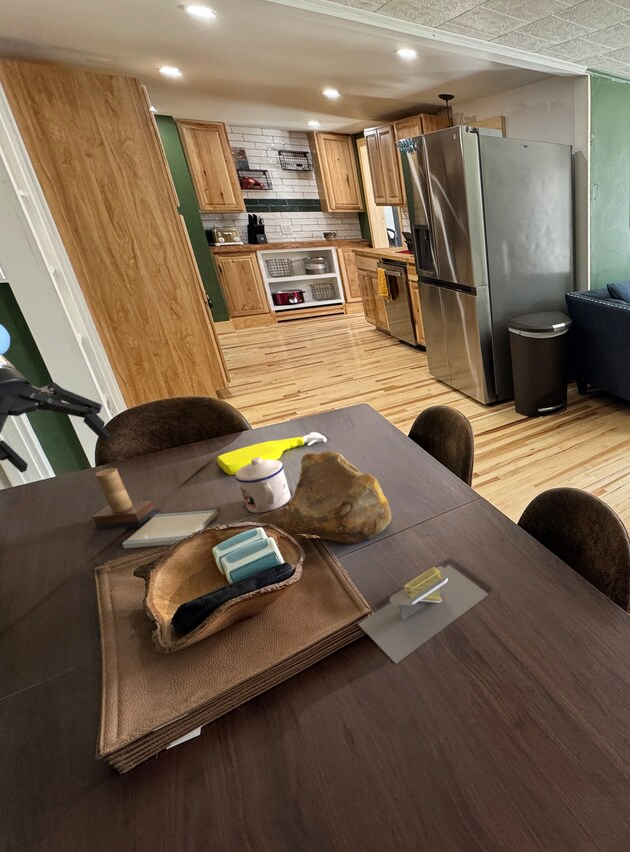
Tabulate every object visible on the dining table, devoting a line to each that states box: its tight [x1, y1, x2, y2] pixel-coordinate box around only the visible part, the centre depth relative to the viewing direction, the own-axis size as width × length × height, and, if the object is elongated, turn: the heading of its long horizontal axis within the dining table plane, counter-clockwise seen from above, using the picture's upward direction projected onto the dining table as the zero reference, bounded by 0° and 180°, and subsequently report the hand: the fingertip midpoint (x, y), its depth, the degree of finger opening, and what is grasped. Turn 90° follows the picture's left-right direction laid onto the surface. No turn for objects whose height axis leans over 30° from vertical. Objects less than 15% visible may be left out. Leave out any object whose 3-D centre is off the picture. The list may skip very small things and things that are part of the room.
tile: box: [121, 509, 219, 549], centre depth 101 cm, size 12×10×1 cm
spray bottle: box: [216, 431, 328, 476], centre depth 131 cm, size 3×11×24 cm
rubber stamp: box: [91, 467, 158, 531], centre depth 100 cm, size 8×5×13 cm, turn 99°
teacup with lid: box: [234, 457, 291, 514], centre depth 108 cm, size 12×9×12 cm
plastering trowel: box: [357, 565, 489, 665], centre depth 81 cm, size 12×18×7 cm, turn 142°
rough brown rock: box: [283, 450, 392, 545], centre depth 99 cm, size 23×17×15 cm
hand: (68, 452), depth 100 cm, fingers open, 13 cm apart
